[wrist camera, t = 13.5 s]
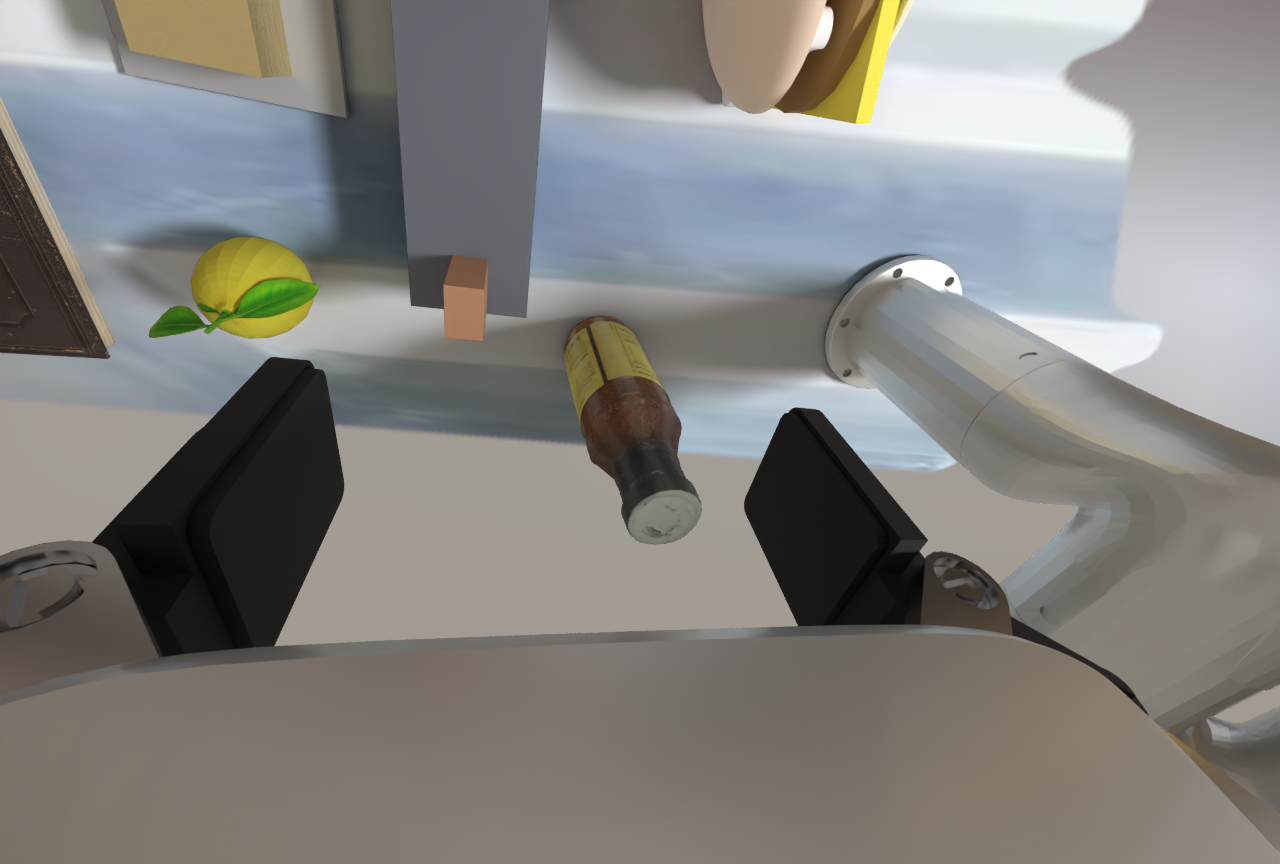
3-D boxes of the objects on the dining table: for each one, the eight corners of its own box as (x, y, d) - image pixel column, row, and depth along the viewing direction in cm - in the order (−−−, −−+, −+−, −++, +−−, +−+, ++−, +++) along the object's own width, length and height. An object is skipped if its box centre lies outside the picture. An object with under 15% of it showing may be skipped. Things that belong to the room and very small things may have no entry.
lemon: (210, 284, 32) (112, 357, 24) (222, 199, 29) (117, 250, 21) (326, 326, 35) (271, 403, 27) (346, 252, 32) (292, 313, 25)
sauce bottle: (581, 390, 42) (619, 580, 27) (549, 330, 38) (572, 512, 23) (650, 361, 42) (730, 536, 27) (625, 297, 38) (701, 459, 23)
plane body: (551, -96, 25) (569, -168, 17) (524, 290, 36) (527, 353, 28) (400, -148, 23) (341, -256, 15) (422, 277, 34) (395, 341, 26)
